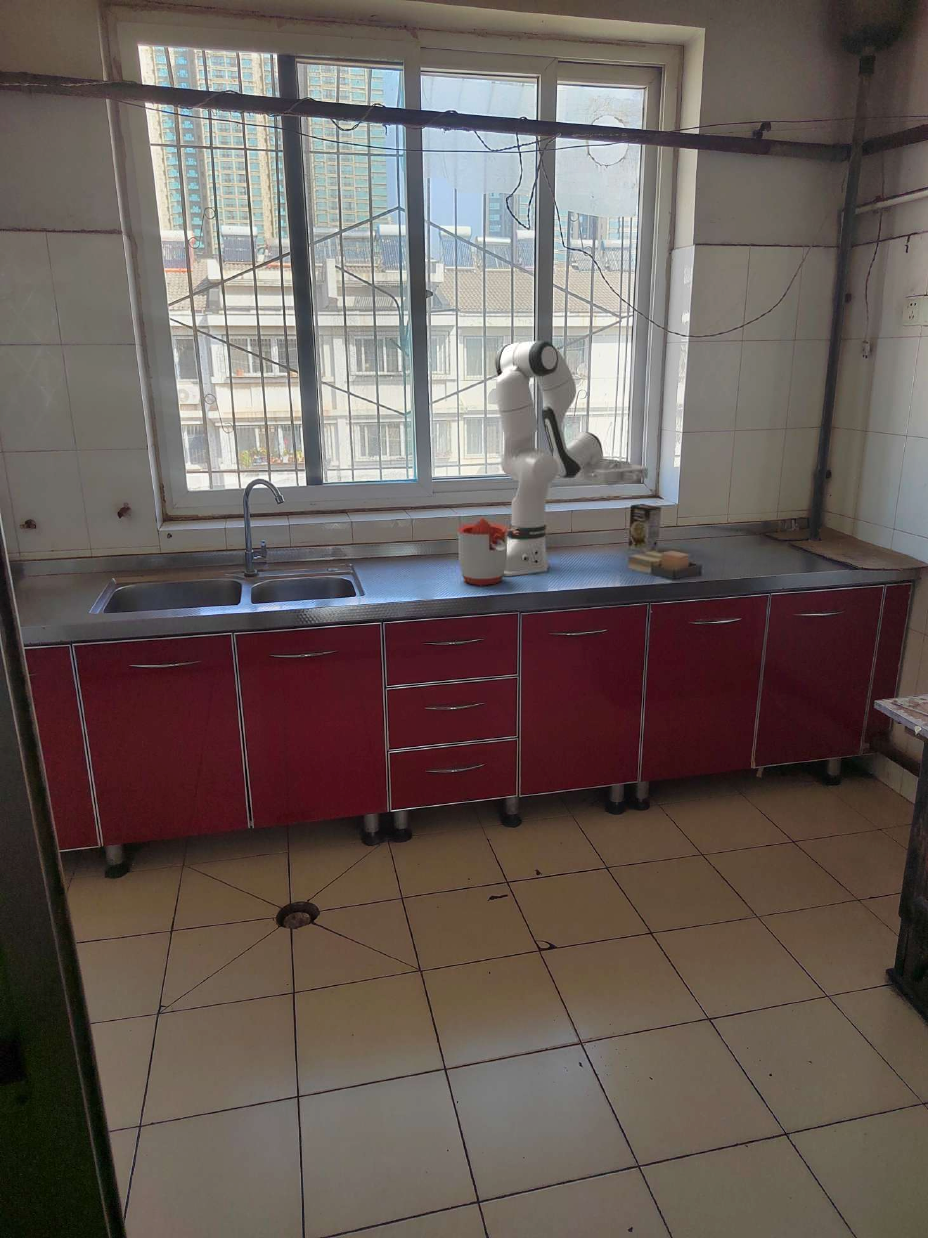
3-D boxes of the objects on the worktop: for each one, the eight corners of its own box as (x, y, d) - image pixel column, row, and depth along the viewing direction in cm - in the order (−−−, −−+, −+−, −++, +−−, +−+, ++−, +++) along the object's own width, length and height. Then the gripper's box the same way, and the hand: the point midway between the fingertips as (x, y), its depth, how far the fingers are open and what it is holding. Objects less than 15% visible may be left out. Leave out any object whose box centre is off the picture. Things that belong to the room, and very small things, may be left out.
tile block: (660, 570, 262) (677, 575, 256) (661, 552, 260) (678, 556, 254) (671, 568, 264) (688, 572, 259) (672, 550, 262) (689, 554, 257)
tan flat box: (650, 573, 260) (651, 561, 259) (628, 567, 268) (628, 556, 267) (676, 568, 267) (676, 556, 266) (653, 562, 275) (653, 551, 274)
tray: (673, 580, 252) (674, 571, 251) (650, 574, 260) (651, 565, 259) (701, 574, 259) (701, 564, 258) (678, 568, 267) (678, 559, 266)
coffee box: (627, 549, 294) (629, 505, 289) (639, 546, 298) (641, 503, 293) (646, 553, 287) (649, 508, 282) (658, 551, 291) (661, 506, 286)
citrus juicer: (481, 592, 243) (481, 526, 237) (448, 580, 257) (447, 517, 250) (521, 583, 252) (522, 519, 246) (487, 572, 265) (487, 511, 259)
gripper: (586, 464, 269) (616, 468, 258) (630, 460, 280) (660, 464, 269) (585, 483, 271) (615, 488, 260) (629, 479, 282) (659, 483, 271)
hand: (638, 476), depth 265 cm, fingers closed
